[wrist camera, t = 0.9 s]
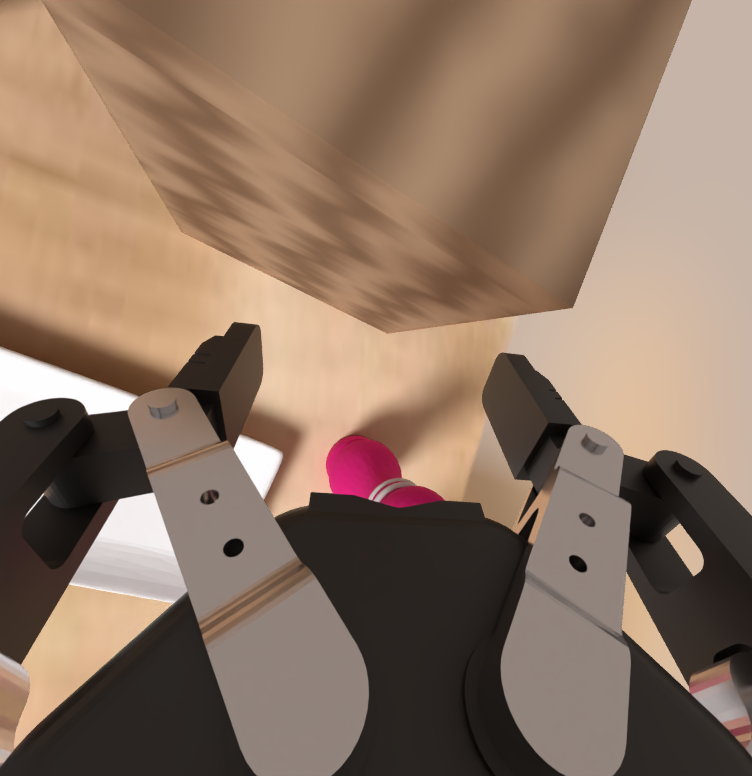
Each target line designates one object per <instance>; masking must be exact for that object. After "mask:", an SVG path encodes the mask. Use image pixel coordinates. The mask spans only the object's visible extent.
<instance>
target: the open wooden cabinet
mask: <svg viewBox="0 0 752 776" xmlns="http://www.w3.org/2000/svg"><path fill="white" fill-rule="evenodd" d="M691 1H692V0H42V2H43V3H44V5H45V7H46V8H47V10H48V12H49V13H50V15H51V16H52V18H53V20H54V21H55V23H56V25H57V26H58V28H59V30H60V31H61V33H62V35H63V36H64V38H65V40H66V41H67V43H68V45H69V46H70V48H71V50H72V51H73V53H74V55H75V56H76V58H77V60H78V61H79V63H80V65H81V66H82V68H83V69H84V71H85V73H86V74H87V76H88V78H89V79H90V81H91V83H92V84H93V86H94V88H95V89H96V91H97V93H98V94H99V96H100V98H101V99H102V101H103V103H104V104H105V106H106V108H107V109H108V111H109V113H110V114H111V116H112V118H113V119H114V121H115V123H116V124H117V126H118V127H119V129H120V131H121V132H122V134H123V136H124V137H125V139H126V141H127V142H128V144H129V146H130V147H131V149H132V151H133V152H134V154H135V156H136V157H137V159H138V161H139V162H140V164H141V166H142V167H143V169H144V171H145V172H146V174H147V176H148V177H149V179H150V180H151V182H152V184H153V185H154V187H155V189H156V190H157V192H158V194H159V195H160V197H161V199H162V200H163V202H164V204H165V205H166V207H167V209H168V210H169V212H170V214H171V215H172V217H173V219H174V220H175V222H176V224H177V225H178V227H179V229H180V230H181V232H183V233H185V234H187V235H189V236H191V237H193V238H195V239H197V240H199V241H201V242H203V243H205V244H207V245H209V246H211V247H213V248H215V249H217V250H219V251H221V252H223V253H225V254H227V255H229V256H231V257H233V258H235V259H237V260H239V261H242V262H244V263H246V264H248V265H250V266H252V267H254V268H256V269H258V270H260V271H262V272H264V273H266V274H268V275H270V276H272V277H274V278H276V279H278V280H280V281H282V282H284V283H286V284H288V285H290V286H292V287H294V288H296V289H298V290H300V291H302V292H304V293H306V294H308V295H310V296H312V297H314V298H316V299H319V300H321V301H323V302H325V303H327V304H329V305H331V306H333V307H335V308H337V309H339V310H341V311H343V312H345V313H347V314H349V315H351V316H353V317H355V318H357V319H359V320H361V321H363V322H365V323H367V324H369V325H371V326H373V327H375V328H377V329H379V330H381V331H383V332H385V333H387V334H388V333H395V332H402V331H409V330H416V329H424V328H431V327H438V326H445V325H453V324H460V323H467V322H474V321H481V320H489V319H496V318H503V317H510V316H517V315H525V314H532V313H539V312H546V311H554V310H561V309H568V308H573V306H574V303H575V301H576V298H577V296H578V293H579V291H580V288H581V285H582V283H583V280H584V278H585V275H586V272H587V270H588V267H589V265H590V262H591V259H592V257H593V254H594V252H595V249H596V247H597V244H598V241H599V239H600V236H601V234H602V231H603V229H604V226H605V223H606V221H607V218H608V215H609V213H610V210H611V208H612V205H613V203H614V200H615V197H616V195H617V192H618V190H619V187H620V185H621V182H622V179H623V177H624V174H625V171H626V169H627V166H628V164H629V161H630V159H631V156H632V154H633V151H634V148H635V146H636V143H637V140H638V138H639V136H640V133H641V130H642V128H643V125H644V123H645V120H646V117H647V115H648V112H649V110H650V107H651V104H652V102H653V99H654V97H655V94H656V91H657V89H658V86H659V83H660V81H661V79H662V76H663V74H664V71H665V68H666V66H667V63H668V61H669V58H670V55H671V52H672V50H673V48H674V45H675V42H676V40H677V37H678V35H679V32H680V30H681V27H682V24H683V22H684V19H685V17H686V14H687V11H688V9H689V6H690V4H691Z"/></svg>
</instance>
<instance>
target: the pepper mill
mask: <svg viewBox="0 0 752 776" xmlns="http://www.w3.org/2000/svg"><path fill="white" fill-rule="evenodd" d="M326 469H327V474H328V476H329V483H330V487H331V490H332V492H333V494H346V495H356V496H359V497H363V498H366V499H369V500H373V501H376V502H380V503H383V504H386V505H390V506H393V507H398V508H401V507H408V506H413V505H419V504H424V503H430V502H435V501H445V500H444V499H443V498H442V497H441V496H440V495H438V494H437V493H436V492H434V491H432V490H430V489H428V488H425V487H421V486H416V485H415V484H414V483H413V482H411V481H410V480H407V479H403V478H402V475H401V469H400V466H399V464H398V461H397V459H396V457H395V456H394V454H393V453H392V452H391V451H390V450H389V449H388V448H387V447H386V446H385V445H383V444H382V443H380V442H377V441H374V440H369V439H367V438H365V437H363V436H348V437H345V438H343V439H341V440H340V441H338V442H337V443H336V444H335V445H334V446H333V447H332V449H331V450H330V452H329V454H328V457H327V461H326Z"/></svg>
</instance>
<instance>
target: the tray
mask: <svg viewBox="0 0 752 776" xmlns="http://www.w3.org/2000/svg"><path fill="white" fill-rule="evenodd" d="M138 397H139V396H138V395H135V394H132V393H130V392H127V391H124V390H122V389H119V388H116V387H113V386H110V385H108V384H105V383H102V382H99V381H96V380H93V379H91V378H88V377H85V376H82V375H80V374H77V373H74V372H71V371H68V370H66V369H63V368H60V367H57V366H55V365H52V364H49V363H46V362H43V361H40V360H38V359H35V358H32V357H29V356H26V355H23V354H21V353H18V352H15V351H12V350H9V349H7V348H4V347H1V346H0V421H1V420H3V419H4V418H5V417H6V416H7V415H9V414H10V413H11V412H13V411H15V410H16V409H18V408H20V407H23V406H25V405H27V404H30V403H33V402H36V401H40V400H44V399H50V398H71V399H75V400H78V401H80V402H81V403H82V404H83V405H84V406H85V408H86V411H87V413H88V415H91V414H99V413H108V412H117V411H124V410H128V408H129V406H130V405H131V403H132V402H133V401H134V400H135V399H136V398H138ZM234 451H235V453H236V454H237V456H238V458H239V459H240V461H241V463H242V465H243V466H244V468H245V470H246V471H247V473H248V475H249V476H250V478H251V480H252V481H253V483H254V485H255V486H256V488H257V490H258V491H259V493H260V495H261V497H262V498H263V500H264V499H265V497H266V495H267V493H268V491H269V489H270V487H271V485H272V483H273V480H274V478H275V476H276V474H277V472H278V470H279V467H280V465H281V463H282V460H283V453H282V451H280V450H279V449H277V448H275V447H272V446H270V445H268V444H265V443H263V442H260V441H258V440H255V439H253V438H250V437H248V436H245V435H242V434H240V435H239V438H238V440H237V442H236V445H235V447H234ZM43 495H44V493H43V494H42V496H43ZM42 496H41V497H42ZM41 497H40V498H39V499H38V500H37V502H38V501H39V500H40V499H41ZM37 502H36V503H35V504H34V505H33V507H34V506H35V505H36V504H37ZM33 507H32V508H31V509H30V510H29V512H30V511H31V510H32V509H33ZM29 512H28V513H29ZM28 513H27V515H28ZM27 515H26V516H27ZM69 585H74V586H80V587H86V588H91V589H97V590H102V591H108V592H114V593H119V594H125V595H130V596H136V597H141V598H147V599H153V600H158V601H164V602H169V603H175V602H176V601H177V600H178V599H179V598H180V597H181V596H183V595H184V594H185V593H186V592H187V588H186V585H185V583H184V580H183V577H182V574H181V571H180V568H179V565H178V562H177V559H176V556H175V553H174V550H173V548H172V545H171V542H170V539H169V536H168V533H167V530H166V527H165V524H164V521H163V518H162V515H161V512H160V510H159V507H158V504H157V501H156V498H155V495H154V493H149V494H144V495H139V496H134V497H129V498H123V499H119V501H118V502H117V504H116V506H115V507H114V509H113V511H112V512H111V514H110V516H109V517H108V519H107V521H106V522H105V524H104V526H103V528H102V529H101V531H100V533H99V534H98V536H97V538H96V539H95V541H94V543H93V544H92V546H91V548H90V549H89V551H88V553H87V554H86V556H85V558H84V559H83V561H82V563H81V564H80V566H79V568H78V570H77V571H76V573H75V575H74V576H73V578H72V580H71V581H70V583H69Z"/></svg>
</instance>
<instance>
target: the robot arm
mask: <svg viewBox="0 0 752 776" xmlns="http://www.w3.org/2000/svg"><path fill="white" fill-rule="evenodd" d="M262 376H263V357H262V342H261V330H260V327H259V325H255V324H246V323H237V322H234V323H233V324H232V325H231V326H230V328H229V329H228V331H227V332H226V334H225V335H224V336H214V337H212V338H210V339H208V340H207V341H205V342H203V343H202V344H201V345H200V346H199V348H198V349H197V350H196V352H195V355H194V354H193V355H192V357H191V358H190V359H189V362H187V363H186V364H185V366H184V367H183V368H182V369H181V371H180V372H179V373H178V375H177V376H176V377H175V378H174V380H173V381H172V382H171V384H170V385H169V386H168V387H167V388H161V389H157V390H153V391H150V392H147V393H145V394H143V395H141V396H139V397H138V398H136V399H135V400H134V401H133V402H132V403H131V405H130V406H129V408H128V410H124V411H117V412H108V413H99V414H91V415H88V413H87V411H86V408H85V406H84V405H83V404H82V403H81V402H80V401H78V400H75V399H71V398H50V399H44V400H40V401H36V402H33V403H30V404H27V405H25V406H23V407H20V408H18V409H16V410H15V411H13V412H11V413H10V414H9V415H7V416H6V417H5V418H4V419H3V420H1V421H0V776H752V516H751V515H750V514H749V513H748V512H747V511H746V510H745V508H744V507H743V506H742V505H741V504H740V503H739V502H738V501H737V500H736V499H735V498H734V497H733V496H732V495H731V494H730V493H729V492H728V491H727V490H726V488H725V487H724V486H723V485H722V484H721V483H720V482H719V481H718V480H717V479H716V478H715V477H714V476H713V475H712V474H711V473H710V472H709V471H708V470H707V469H706V468H704V467H703V466H702V465H700V464H699V463H697V462H696V461H694V460H692V459H691V458H689V457H687V456H684V455H682V454H680V453H677V452H673V451H668V450H663V451H659V452H657V453H656V454H655V455H654V456H653V457H652V458H651V460H650V461H649V462H647V461H644V460H640V459H637V458H634V457H630V456H627V455H624V453H623V450H622V448H621V447H620V445H619V444H618V443H617V442H616V441H615V440H614V439H613V438H611V437H610V436H609V435H607V434H605V433H604V432H602V431H600V430H598V429H596V428H593V427H590V426H586V425H582V424H581V423H580V422H579V421H578V419H577V418H576V416H575V415H574V414H573V413H572V411H571V410H570V408H569V407H568V406H567V404H566V403H565V402H564V400H562V397H561V396H560V395H559V394H558V392H556V390H555V388H554V387H553V385H552V384H551V383H550V381H549V380H548V379H546V378H545V377H544V376H543V375H541V374H540V373H539V372H537V371H535V370H534V368H533V367H532V365H531V364H530V363H529V361H528V360H527V358H526V357H525V356H524V355H518V354H509V353H500V354H499V355H498V356H497V358H496V360H495V363H494V365H493V367H492V370H491V372H490V375H489V377H488V380H487V382H486V385H485V387H484V390H483V394H482V403H483V407H484V409H485V412H486V414H487V416H488V419H489V421H490V423H491V426H492V428H493V430H494V432H495V435H496V437H497V439H498V442H499V444H500V446H501V449H502V451H503V453H504V456H505V458H506V460H507V462H508V465H509V467H510V469H511V472H512V474H513V476H514V479H518V480H531V481H532V483H533V485H532V487H531V488H530V490H529V491H528V493H527V496H526V498H525V500H524V503H523V505H522V507H521V510H520V512H519V515H518V517H517V519H516V522H515V524H514V526H513V529H512V530H511V529H509V528H508V527H506V526H503V525H502V524H500V523H498V522H495V521H493V520H491V519H488V518H485V517H484V514H483V510H482V507H481V504H480V503H471V502H455V501H435V502H430V503H424V504H419V505H413V506H408V507H401V508H398V507H393V506H390V505H386V504H383V503H380V502H376V501H373V500H369V499H366V498H363V497H359V496H356V495H346V494H330V493H315V492H311V495H310V502H309V506H305V507H300V508H296V509H293V510H290V511H287V512H285V513H283V514H280V515H278V516H277V517H275V518H274V517H273V515H272V513H271V512H270V510H269V508H268V507H267V505H266V503H265V502H264V500H263V498H262V497H261V495H260V493H259V491H258V490H257V488H256V486H255V485H254V483H253V481H252V480H251V478H250V476H249V475H248V473H247V471H246V470H245V468H244V466H243V465H242V463H241V461H240V459H239V458H238V456H237V454H236V453H235V451H234V447H235V445H236V442H237V440H238V438H239V435H240V433H241V430H242V428H243V426H244V423H245V421H246V418H247V416H248V414H249V411H250V409H251V407H252V404H253V402H254V399H255V397H256V395H257V392H258V390H259V387H260V385H261V382H262ZM43 493H44V495H43V496H42V494H43ZM149 493H154V495H155V498H156V501H157V504H158V507H159V510H160V512H161V515H162V518H163V521H164V524H165V527H166V530H167V533H168V536H169V539H170V542H171V545H172V548H173V550H174V553H175V556H176V559H177V562H178V565H179V568H180V571H181V574H182V577H183V580H184V583H185V585H186V588H187V592H186V593H185V594H184V595H183V596H181V597H180V598H179V599H178V600H177V601H176V602H175V603H174V604H173V605H171V606H170V607H169V608H168V609H167V610H166V611H165V612H164V613H162V614H161V615H160V616H159V617H158V618H157V619H156V620H155V621H153V622H152V623H151V624H150V625H149V626H148V627H147V628H146V629H144V630H143V631H142V632H141V633H140V634H139V635H138V636H137V637H135V638H134V639H133V640H132V641H131V642H130V643H129V644H128V645H127V646H125V647H124V648H123V649H122V650H121V651H120V652H119V653H118V654H116V655H115V656H114V657H113V658H112V659H111V660H110V661H109V662H107V663H106V664H105V665H104V666H103V667H102V668H101V669H100V670H98V671H97V672H96V673H95V674H94V675H93V676H92V677H91V678H89V679H88V680H87V681H86V682H85V683H84V684H83V685H82V686H81V687H79V688H78V689H77V690H76V691H75V692H74V693H73V694H72V695H70V696H69V697H68V698H67V699H66V700H65V701H64V702H63V703H61V704H60V705H59V706H58V707H57V708H56V709H55V710H54V711H52V712H51V713H50V714H49V715H48V716H47V717H46V718H45V719H44V720H43V721H41V722H40V723H39V724H38V725H37V726H36V727H35V728H34V729H33V730H32V731H31V732H30V733H29V734H28V735H27V736H26V737H25V738H24V739H23V741H22V742H21V743H20V744H19V745H18V746H17V747H16V748H15V749H14V738H15V732H16V728H17V725H18V723H19V719H20V717H21V714H22V712H23V710H24V707H25V705H26V702H27V699H28V695H29V690H30V679H29V675H28V673H27V671H26V670H25V668H24V667H23V666H21V664H22V662H23V660H24V659H25V657H26V655H27V654H28V652H29V650H30V649H31V647H32V645H33V643H34V642H35V640H36V638H37V637H38V635H39V633H40V632H41V630H42V628H43V627H44V625H45V623H46V622H47V620H48V618H49V617H50V615H51V613H52V612H53V610H54V608H55V607H56V605H57V603H58V601H59V600H60V598H61V596H62V595H63V593H64V591H65V590H66V588H67V586H68V585H69V583H70V581H71V580H72V578H73V576H74V575H75V573H76V571H77V570H78V568H79V566H80V564H81V563H82V561H83V559H84V558H85V556H86V554H87V553H88V551H89V549H90V548H91V546H92V544H93V543H94V541H95V539H96V538H97V536H98V534H99V533H100V531H101V529H102V528H103V526H104V524H105V522H106V521H107V519H108V517H109V516H110V514H111V512H112V511H113V509H114V507H115V506H116V504H117V502H118V501H119V499H123V498H129V497H134V496H139V495H144V494H149ZM41 496H42V497H41ZM40 497H41V499H40V500H39V501H38V502H37V500H38V499H39V498H40ZM36 502H37V504H36V505H35V506H34V507H33V505H34V504H35V503H36ZM32 507H33V509H32V510H31V511H30V512H29V510H30V509H31V508H32ZM28 512H29V513H28ZM27 513H28V515H27ZM26 515H27V516H26ZM678 524H681V525H682V526H683V528H684V529H685V530H686V532H687V533H688V534H689V536H690V537H691V538H692V540H693V541H694V542H695V544H696V545H697V546H698V548H699V549H700V551H701V553H702V555H703V558H704V565H703V569H702V570H701V572H699V573H698V574H697V575H695V576H694V577H693V575H692V574H691V572H690V571H689V569H688V568H687V566H686V565H685V564H684V562H683V561H682V559H681V558H680V557H679V555H678V553H677V552H676V551H675V549H674V548H673V546H672V545H671V543H670V542H669V540H668V539H667V538H666V536H665V535H667V534H668V533H669V532H670V531H671V530H672V529H674V528H675V527H676V526H677V525H678ZM626 572H627V574H628V575H629V577H630V579H631V581H632V583H633V585H634V587H635V588H636V590H637V592H638V594H639V596H640V598H641V599H642V601H643V603H644V605H645V607H646V609H647V611H648V612H649V614H650V616H651V618H652V620H653V622H654V623H655V625H656V627H657V629H658V631H659V633H660V634H661V636H662V638H663V640H664V642H665V643H666V646H667V647H668V649H669V651H670V653H671V655H672V657H673V658H674V660H675V662H676V664H677V666H678V668H679V669H680V671H681V673H682V675H683V677H684V679H685V680H686V682H687V684H688V686H689V690H690V693H689V692H688V691H687V690H686V689H685V688H684V687H683V686H682V685H681V684H680V683H679V682H678V681H676V680H675V679H674V678H673V677H672V676H671V675H670V674H669V673H668V672H667V671H666V670H665V669H663V667H661V666H660V665H659V664H658V663H657V662H656V661H655V660H654V659H653V658H652V657H651V656H650V655H649V654H647V653H646V652H645V651H644V650H643V649H642V648H641V647H640V646H639V645H638V644H637V643H636V642H635V641H634V640H632V639H631V638H630V637H629V636H628V635H627V634H626V633H625V632H624V631H623V630H622V615H623V604H624V592H625V579H626Z"/></svg>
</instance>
